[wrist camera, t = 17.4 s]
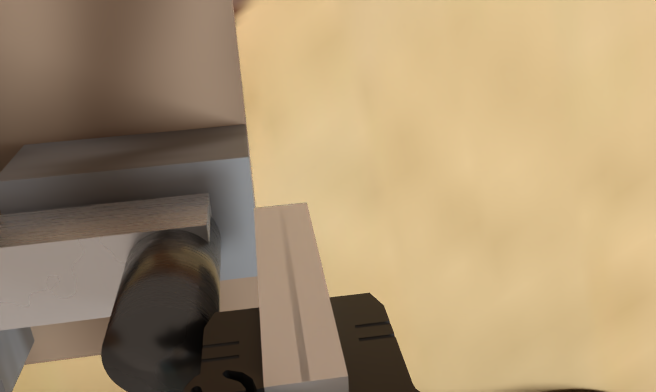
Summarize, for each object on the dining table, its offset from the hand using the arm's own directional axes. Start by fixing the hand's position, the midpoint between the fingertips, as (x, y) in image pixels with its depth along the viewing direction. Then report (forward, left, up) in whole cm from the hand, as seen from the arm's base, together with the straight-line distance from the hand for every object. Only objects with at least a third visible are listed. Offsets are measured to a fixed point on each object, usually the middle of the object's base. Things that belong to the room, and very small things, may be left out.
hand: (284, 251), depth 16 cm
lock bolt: (+6, 0, -2) cm, 7 cm away
